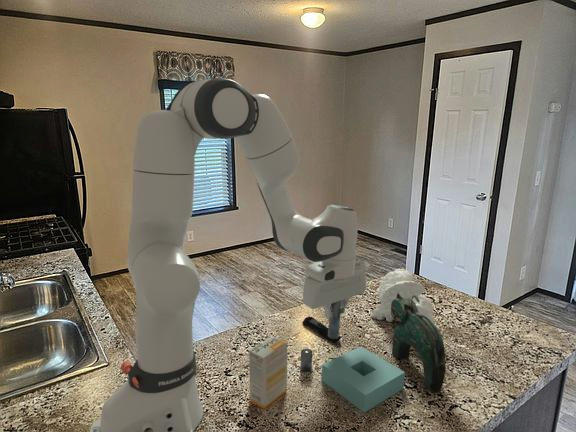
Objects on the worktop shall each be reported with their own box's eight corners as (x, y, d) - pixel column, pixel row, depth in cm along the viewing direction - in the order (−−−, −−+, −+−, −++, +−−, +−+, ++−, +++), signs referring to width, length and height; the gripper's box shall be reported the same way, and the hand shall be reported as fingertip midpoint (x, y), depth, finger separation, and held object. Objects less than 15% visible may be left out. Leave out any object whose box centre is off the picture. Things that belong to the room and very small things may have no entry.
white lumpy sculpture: (458, 309, 117) (402, 272, 117) (417, 359, 120) (363, 323, 120) (440, 288, 135) (392, 256, 135) (405, 331, 139) (359, 300, 139)
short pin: (305, 373, 100) (305, 356, 98) (298, 368, 102) (298, 350, 101) (314, 369, 101) (314, 352, 100) (306, 364, 104) (307, 347, 103)
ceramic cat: (385, 350, 111) (390, 284, 106) (405, 348, 112) (411, 282, 108) (427, 396, 92) (435, 318, 88) (450, 392, 94) (459, 315, 89)
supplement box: (272, 383, 96) (272, 334, 93) (287, 391, 93) (288, 342, 90) (248, 400, 89) (248, 349, 86) (263, 410, 86) (264, 357, 84)
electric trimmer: (333, 347, 113) (334, 337, 112) (301, 324, 125) (301, 315, 124) (343, 343, 115) (343, 333, 114) (310, 321, 127) (310, 312, 126)
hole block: (364, 412, 86) (365, 395, 85) (321, 380, 97) (322, 364, 96) (403, 388, 94) (404, 372, 93) (360, 361, 105) (361, 346, 104)
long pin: (333, 340, 104) (335, 297, 101) (325, 335, 106) (328, 294, 104) (341, 336, 106) (344, 295, 103) (333, 332, 108) (336, 291, 106)
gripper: (356, 256, 110) (352, 302, 113) (300, 269, 98) (298, 320, 101) (373, 262, 106) (369, 310, 108) (316, 277, 93) (314, 330, 96)
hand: (334, 315), depth 105 cm, fingers closed on long pin, 3 cm apart
